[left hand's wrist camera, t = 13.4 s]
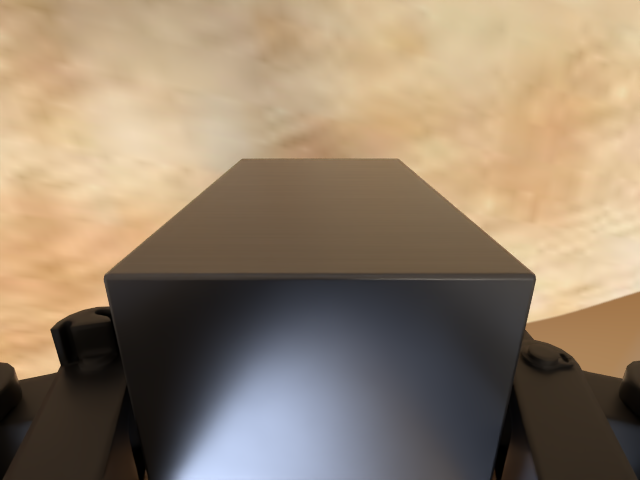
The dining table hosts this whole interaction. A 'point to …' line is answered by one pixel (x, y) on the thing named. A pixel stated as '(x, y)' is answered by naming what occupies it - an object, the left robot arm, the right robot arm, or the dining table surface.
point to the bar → (319, 329)
